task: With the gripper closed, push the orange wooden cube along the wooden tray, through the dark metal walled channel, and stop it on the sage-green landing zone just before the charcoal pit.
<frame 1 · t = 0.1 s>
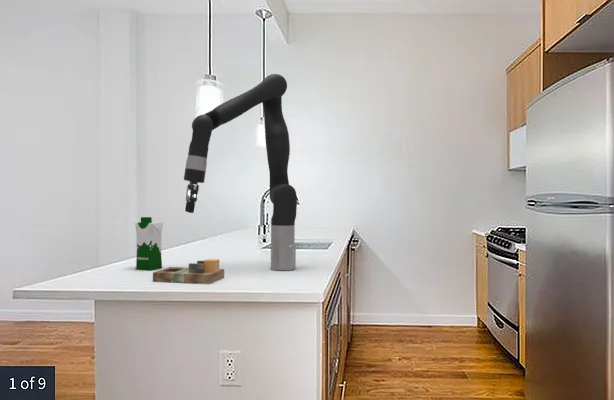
hand: (189, 212, 206), 22 cm above the table, tool pointing down, fingers open, 8 cm apart
milk carton: (149, 269, 216), on the table
orange block: (211, 271, 189), point 3 cm above the table, touching wooden tray
wooden tray: (189, 279, 191), on the table
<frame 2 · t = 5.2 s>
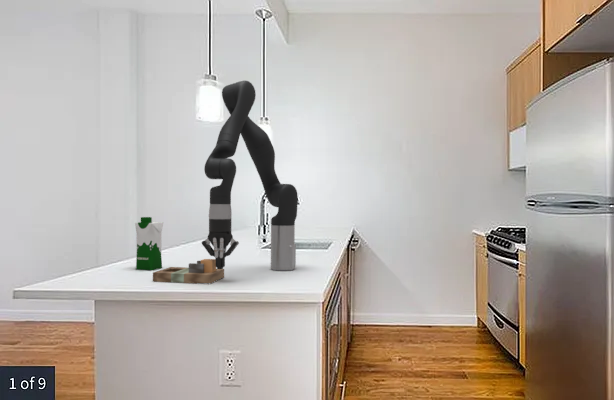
hand: (220, 268, 189), 4 cm above the table, tool pointing down, fingers closed
orange block: (208, 271, 190), point 3 cm above the table, touching gripper, wooden tray
everything else where it was.
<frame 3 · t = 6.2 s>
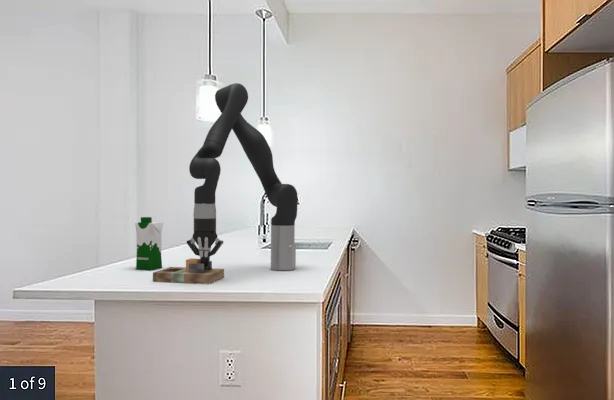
hand: (204, 267, 190), 4 cm above the table, tool pointing down, fingers closed
orange block: (193, 270, 191), point 3 cm above the table, touching gripper
everything else where it was.
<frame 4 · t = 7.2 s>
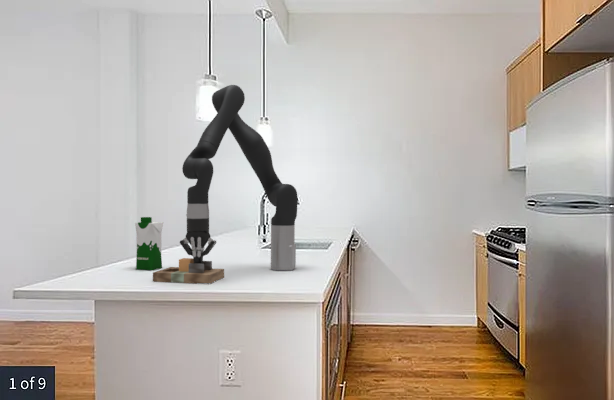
hand: (198, 267, 190), 4 cm above the table, tool pointing down, fingers closed
orange block: (186, 270, 191), point 3 cm above the table, touching gripper, wooden tray
everything else where it was.
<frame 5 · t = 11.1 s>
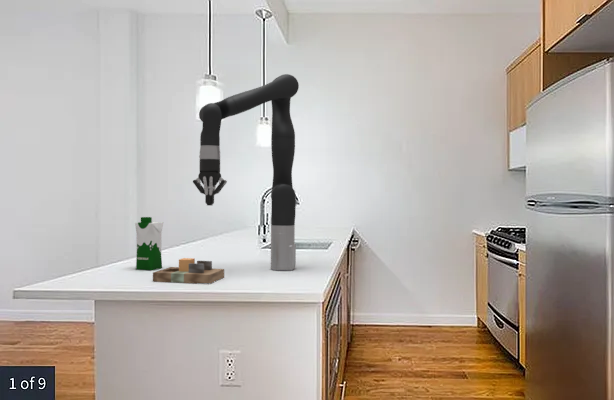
hand: (209, 205, 206), 25 cm above the table, tool pointing down, fingers closed
orange block: (186, 270, 191), point 3 cm above the table, touching wooden tray
everything else where it was.
at the end: orange block 0.2 cm from the target spot on the wooden tray, point 3.0 cm above the wooden tray's base; orange block tilted 0° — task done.
